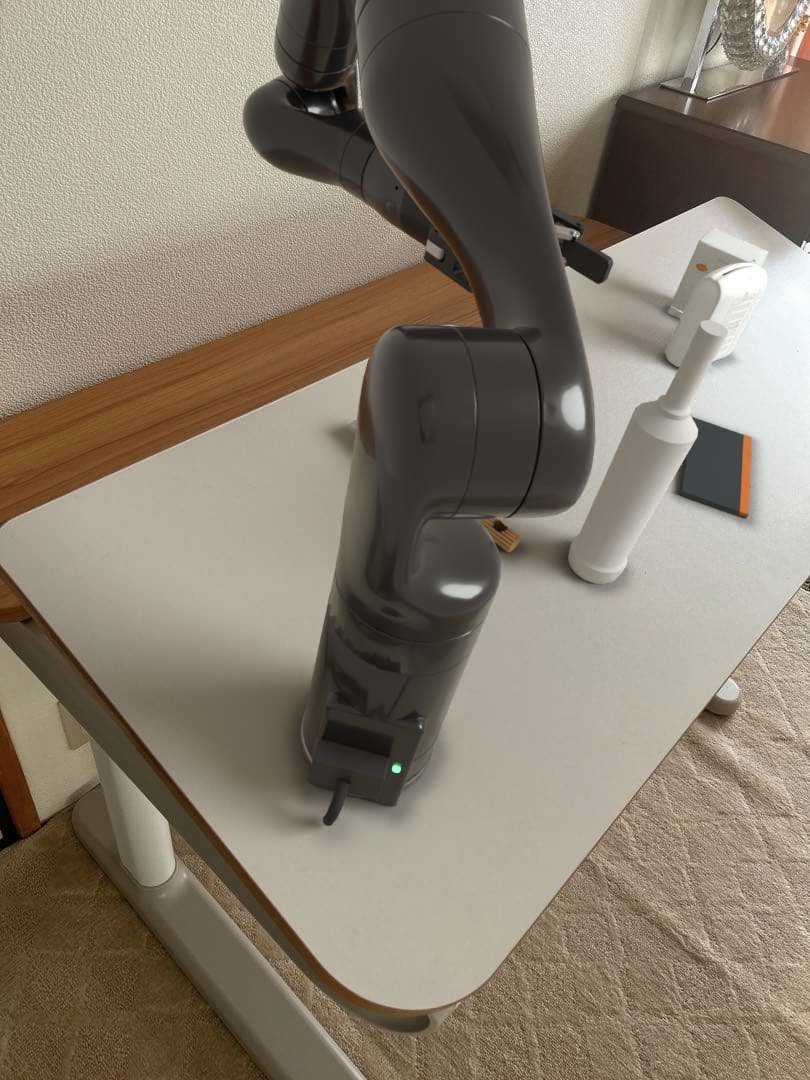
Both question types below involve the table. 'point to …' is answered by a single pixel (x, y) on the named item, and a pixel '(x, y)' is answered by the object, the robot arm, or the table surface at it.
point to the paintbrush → (491, 526)
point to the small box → (713, 262)
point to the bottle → (643, 466)
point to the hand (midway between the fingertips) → (578, 286)
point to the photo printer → (719, 307)
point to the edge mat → (718, 469)
